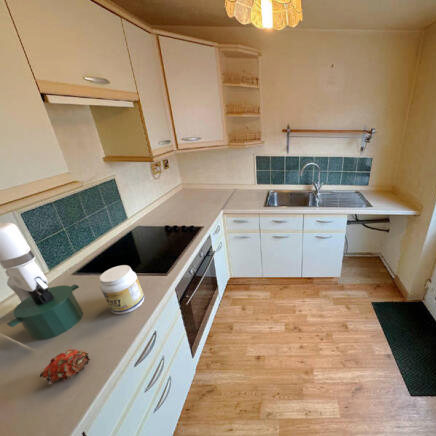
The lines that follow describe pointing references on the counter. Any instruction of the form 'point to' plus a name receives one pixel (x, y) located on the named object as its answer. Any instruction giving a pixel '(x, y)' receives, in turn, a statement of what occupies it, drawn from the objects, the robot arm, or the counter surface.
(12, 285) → the silver metal bottle
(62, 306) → the pot
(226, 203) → the counter surface
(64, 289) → the pot lid
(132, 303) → the supplement tub
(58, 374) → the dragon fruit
